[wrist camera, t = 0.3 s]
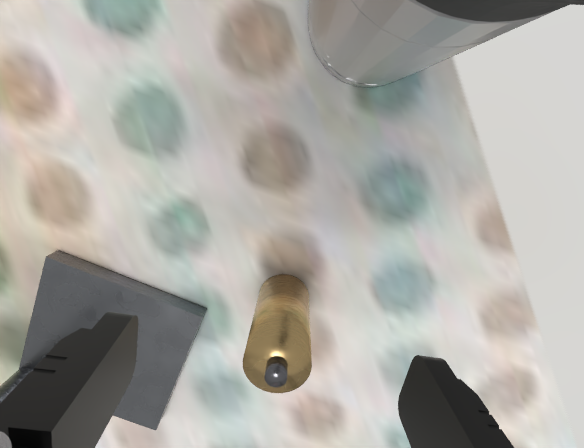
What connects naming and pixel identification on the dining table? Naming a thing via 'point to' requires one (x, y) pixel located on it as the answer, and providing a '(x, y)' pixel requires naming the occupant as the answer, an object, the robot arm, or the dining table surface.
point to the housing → (279, 336)
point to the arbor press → (90, 309)
